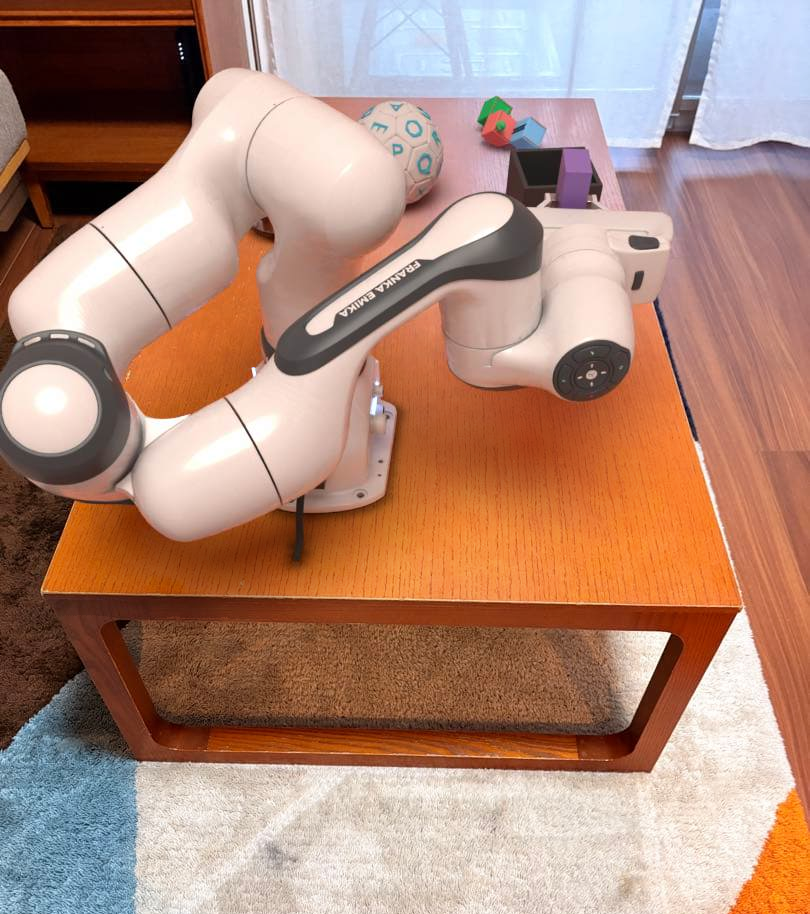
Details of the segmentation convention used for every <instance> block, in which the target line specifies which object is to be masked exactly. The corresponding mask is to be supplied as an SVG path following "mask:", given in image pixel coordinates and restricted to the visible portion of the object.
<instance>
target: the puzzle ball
mask: <svg viewBox="0 0 810 914" xmlns="http://www.w3.org/2000/svg"><path fill="white" fill-rule="evenodd" d="M357 123H359V124H361V125H362V126H364V127H366V128H367V129H369V130H370V131H371V132H372V133H373V134H374V135H375V136H376V137H377V138H378V139H379V140H380V141H381V142H382V143H383V144H384V145H385V146H386V147H387V149H388V150H389V151H390V152H391V153H392V154H393V155H394V156H395V158H396V159H397V160H398V161H399V162H400V164H401V165H402V167H403V169H404V171H405V174H406V178H407V186H408V192H407V202H406V205H409V204H413V203H414V202H417V201H419V200H420V199H421V198H423V197H425V195H427V193H429V192H430V191H431V190H432V188H433V187H434V186H435V184H436V182H437V180H438V178H439V175H440V173H441V170H442V167H443V162H444V143H443V140H442V137H441V133H440V130H439V128H438V126H437V124H436V123H435V122H434V121H433V119H432V117H431V116H430V114H428V112H426V111H425V110H424V109H422V107H419V106H417V105H415V104H413V103H410V102H407V101H401V100H390V101H389V100H387V101H385V102H381V103H379V104H377V105H373V106H372V107H371V108H369V109H367V110H366V111H365V112H364V113H363V114H362V115H361V116H360V119H359V120H358V121H357Z"/></svg>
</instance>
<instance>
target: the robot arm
mask: <svg viewBox="0 0 810 914" xmlns="http://www.w3.org/2000/svg"><path fill="white" fill-rule="evenodd" d="M407 192H408V186H407V178H406V174H405V171H404V169H403V167H402V165H401V164H400V162H399V161H398V160H397V159H396V158H395V156H394V155H393V154H392V153H391V152H390V151H389V150H388V149H387V147H386V146H385V145H384V144H383V143H382V142H381V141H380V140H379V139H378V138H377V137H376V136H375V135H374V134H373V133H372V132H371V131H370V130H369V129H367V128H366V127H364V126H362V125H361V124H359V123H358V121H356V120H354V119H352V118H350V117H349V116H348V115H346V114H344V113H342V112H341V111H339V110H337V109H335V108H334V107H332V106H331V105H329V104H327V103H325V102H324V101H322V100H320V99H317V98H315V97H313V96H312V95H310V94H309V93H306V92H305V91H303V90H301V89H300V88H299V87H297V86H295V85H293V84H292V83H289V82H288V81H287V80H285V79H283V78H281V77H280V76H278V75H276V74H274V73H273V74H272V73H268V72H264V71H260V70H256V69H249V68H243V67H230V68H226V69H223V70H220V71H219V72H217V73H215V74H213V76H211V77H210V78H209V79H208V80H207V81H206V82H205V83H204V85H202V88H201V89H200V91H199V93H198V95H197V97H196V99H195V102H194V106H193V110H192V118H191V128H190V130H189V132H188V134H187V136H186V137H185V138H184V140H183V142H181V144H180V146H179V147H178V148H177V149H176V151H175V152H174V153H173V155H172V156H171V157H170V158H169V159H168V161H167V162H166V163H165V164H164V165H163V166H162V167H160V169H158V170H157V172H156V173H155V174H154V175H152V176H151V177H150V178H149V179H148V180H146V181H145V182H143V184H140V185H139V186H138V187H137V188H135V189H134V190H133V191H132V192H130V193H128V194H127V195H126V196H125V197H123V198H122V199H120V200H119V201H117V202H116V203H115V204H113V205H112V206H110V207H109V208H107V209H106V210H105V211H103V212H102V213H101V214H99V215H98V216H96V217H95V218H93V219H92V220H90V221H89V222H88V223H86V224H85V225H84V226H82V227H81V228H80V229H78V230H77V231H75V232H74V233H73V234H71V235H70V236H69V237H67V238H66V239H65V240H64V241H63V242H61V243H60V244H59V245H57V246H56V247H55V248H54V249H53V250H52V251H51V252H49V253H48V254H47V255H46V256H45V257H44V258H43V259H42V260H41V261H40V262H38V264H37V265H35V266H34V268H33V269H32V270H31V271H30V272H29V273H28V274H27V275H26V276H25V277H24V278H23V280H21V282H19V284H18V285H17V286H16V287H15V289H14V290H13V291H12V292H11V294H10V296H9V300H8V303H7V316H8V320H9V325H10V326H11V330H12V333H13V335H14V337H15V339H16V342H15V343H14V346H13V348H12V350H11V353H10V355H9V358H8V360H7V362H6V365H5V366H4V367H3V368H2V370H1V371H0V456H1V457H2V459H3V460H4V461H5V463H7V465H8V466H9V467H10V468H12V469H13V470H14V471H16V472H17V473H19V474H20V475H22V476H23V477H25V478H26V479H27V480H28V481H30V482H31V483H33V484H34V485H35V486H37V487H38V488H40V489H42V490H43V491H46V492H47V493H50V494H53V495H55V496H59V497H63V498H66V499H69V500H71V501H75V502H77V503H82V504H89V505H119V506H121V505H122V506H136V507H137V509H138V511H139V512H140V514H141V515H142V516H141V517H143V519H144V520H145V521H146V522H147V523H148V525H150V526H151V527H152V528H153V529H154V530H155V531H157V532H158V533H159V534H161V535H162V536H164V537H166V538H167V539H170V540H172V541H175V542H182V543H187V542H189V543H190V542H195V541H198V540H202V539H205V538H209V537H212V536H214V535H217V534H220V533H224V532H226V531H229V530H232V529H234V528H236V527H237V528H238V527H240V526H242V525H245V524H247V523H249V522H251V521H254V520H256V519H259V518H260V517H263V516H265V515H267V514H269V513H271V512H273V511H275V510H276V509H278V510H282V511H286V512H293V513H295V542H294V549H293V554H292V557H291V559H292V561H295V562H299V561H300V560H301V557H302V551H303V547H304V534H305V533H304V531H305V529H304V514H322V513H323V514H324V513H325V514H327V513H333V512H334V513H336V512H344V511H350V510H354V509H355V510H356V509H359V508H362V507H366V506H369V505H371V504H373V503H375V502H377V501H379V500H381V499H382V498H383V497H385V495H386V492H387V485H388V479H389V472H390V466H391V461H392V460H391V459H392V453H393V448H394V447H393V446H394V441H395V435H396V434H395V433H396V426H397V420H398V412H397V411H398V410H397V408H396V406H395V405H394V404H393V403H391V402H388V401H387V400H383V399H381V398H383V397H384V385H383V384H381V374H380V372H381V371H380V361H379V360H378V359H377V358H376V357H374V356H373V355H372V354H371V352H372V351H373V350H374V349H375V347H377V345H379V344H380V343H381V342H382V341H383V340H385V339H386V338H387V337H389V336H390V335H391V334H393V333H394V332H396V331H397V330H399V329H400V328H402V327H403V326H404V325H407V323H409V322H410V321H412V320H414V319H415V318H416V317H418V316H420V315H421V314H422V313H424V312H425V311H426V310H428V309H429V308H431V307H432V306H434V305H435V304H436V303H438V308H439V316H440V322H441V325H440V326H441V333H442V339H443V346H444V350H445V357H446V363H447V367H448V369H449V371H450V372H451V374H452V375H453V377H455V378H456V379H457V380H459V381H460V382H462V383H464V384H465V385H467V386H469V387H471V388H474V389H477V390H481V391H485V392H499V393H500V392H514V391H519V390H524V389H528V388H531V387H532V388H536V389H541V390H544V391H546V392H549V393H550V394H552V395H554V396H555V397H557V398H558V399H561V400H563V401H566V402H569V403H570V402H571V403H586V402H593V401H596V400H599V399H601V398H603V397H605V396H607V395H608V394H610V393H612V391H614V390H615V389H616V388H617V387H618V386H619V385H621V383H622V382H623V380H624V379H625V378H626V377H627V375H628V373H629V372H630V369H631V367H632V364H633V360H634V356H635V350H636V334H635V333H636V331H635V323H634V322H635V321H634V314H633V308H632V307H634V306H638V305H639V306H640V305H645V304H650V303H653V302H655V301H656V299H657V297H658V295H659V293H660V291H661V287H662V286H663V283H664V281H665V277H666V274H667V270H668V265H669V262H670V256H671V248H672V243H673V240H674V233H675V232H674V223H673V219H672V217H671V216H670V215H668V214H667V213H665V212H662V211H645V210H644V211H643V210H642V211H641V210H620V209H619V210H618V209H617V210H616V209H610V208H609V207H607V206H606V205H604V204H602V203H601V201H600V202H597V196H596V195H588V199H587V204H586V209H565V208H557V207H558V203H559V197H558V194H555V193H545V197H544V201H543V202H542V203H541V204H539V205H538V206H537V207H526V206H524V205H523V204H522V203H520V202H519V201H518V200H516V199H514V198H513V197H511V196H509V195H507V194H506V193H504V192H502V191H501V192H500V191H495V190H494V191H491V190H486V191H479V192H475V193H471V194H468V195H466V196H462V197H461V198H459V199H457V200H456V201H454V202H453V203H451V204H449V205H448V206H447V207H446V208H444V209H443V210H442V211H441V212H440V213H439V214H438V215H437V216H436V217H435V218H433V220H432V221H431V222H430V223H429V224H428V225H427V226H425V228H424V229H422V230H421V231H420V232H419V233H418V234H417V235H415V236H414V237H413V238H412V239H411V240H410V241H407V242H406V243H405V244H404V245H402V246H401V247H399V248H397V249H396V250H394V251H393V252H392V253H390V254H389V255H388V256H386V257H385V258H383V259H381V260H380V261H378V262H377V263H375V264H374V265H373V266H371V267H369V268H368V269H367V270H366V271H364V272H363V265H364V261H365V258H366V256H368V255H369V254H371V253H373V252H375V251H376V250H379V248H381V247H382V246H383V245H384V244H386V242H388V241H389V240H390V238H391V237H392V236H393V235H394V234H395V232H396V230H397V229H398V227H399V225H400V223H401V221H402V219H403V216H404V213H405V212H406V211H405V210H406V208H407V204H406V202H407ZM267 216H268V218H269V220H270V221H271V224H272V226H273V229H274V235H275V236H274V244H273V246H271V247H270V248H269V249H268V250H267V251H266V252H265V253H264V254H263V256H261V258H259V262H258V263H257V266H256V269H255V283H256V284H255V285H256V290H257V297H258V303H259V308H260V315H261V321H262V324H261V329H260V347H261V353H262V358H263V359H262V360H261V361H260V362H259V363H258V364H257V366H256V367H251V370H252V375H253V376H252V377H251V378H250V379H249V380H248V381H247V382H245V383H244V384H243V385H242V386H240V387H239V388H237V389H235V390H234V391H232V392H230V393H229V394H227V395H225V396H224V397H221V398H219V399H217V400H215V401H212V402H211V403H209V404H207V405H205V406H204V407H202V408H200V409H198V410H197V411H194V412H193V413H187V414H184V415H181V416H177V417H171V418H158V417H157V418H155V417H151V416H148V415H145V414H144V413H143V412H142V410H141V409H140V408H139V406H138V404H137V403H136V401H135V400H134V398H133V397H132V396H131V395H130V393H128V392H127V391H126V390H125V388H124V380H125V377H126V374H127V372H128V370H129V368H130V366H131V365H132V363H133V362H134V361H135V360H136V358H137V357H138V356H139V355H140V354H141V353H142V351H143V350H144V349H146V348H147V347H149V346H151V345H152V344H155V342H157V341H158V340H160V339H161V338H162V337H164V336H165V335H166V334H168V333H170V332H171V331H172V330H173V329H175V328H177V327H178V326H179V325H180V324H181V323H183V322H184V321H186V320H187V319H189V318H190V317H191V316H193V315H194V314H195V313H196V312H198V311H199V310H201V309H202V308H203V307H205V306H206V305H207V304H208V303H210V302H211V301H212V300H214V299H215V298H217V297H218V296H220V295H221V294H222V293H223V292H225V291H226V290H227V289H229V288H230V287H231V286H232V285H233V283H234V282H235V280H236V278H237V276H238V274H239V270H240V251H239V247H240V244H241V243H242V241H243V240H244V238H245V236H246V235H247V234H248V233H249V231H250V230H251V229H253V228H252V226H253V225H254V224H255V223H256V222H258V221H259V220H260V219H262V218H264V217H267Z"/></svg>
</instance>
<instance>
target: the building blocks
mask: <svg viewBox="0 0 810 914" xmlns="http://www.w3.org/2000/svg"><path fill="white" fill-rule="evenodd" d="M513 109H514V107H512V105H511V104H509V103H507V102H506V101H505V100H504V99H503V98H501V97H500V96H498V95H495V96H493V97H491V98H489V99H487V100H486V101H484V102H483V105H482V107H481V110H480V113H479V115H478V118H477V123H478V124H479V125H481V126H482V127H483V129H482V130H481V134H480V136H481V138H483V140H485V141H486V142H488V143H489V144H491V145H492V146H493V147H495V148H501V147H504V146H505V145H507V144H510V145H512V147H514V148H515V149H536V148H541V145H542V142H543V139H544V137H545V134H546V131H547V130H548V127H546V126H545V125H543V124H542V123H540V121H538V120H536V119H535V117H533V116H527V117H525V118H524V119H521V120H519V121H517V120H515V119H514V118H513V117H512V115H511V114H512V112H513Z"/></svg>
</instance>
